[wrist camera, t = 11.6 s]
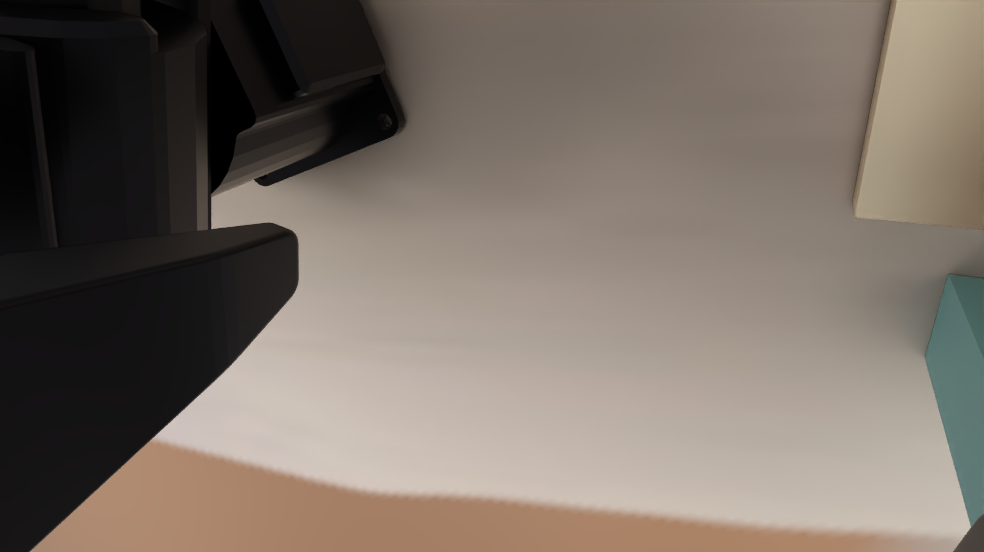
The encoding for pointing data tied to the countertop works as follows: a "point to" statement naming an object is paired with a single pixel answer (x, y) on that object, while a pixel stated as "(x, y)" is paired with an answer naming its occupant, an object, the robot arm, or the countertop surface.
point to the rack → (927, 118)
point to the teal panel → (961, 382)
